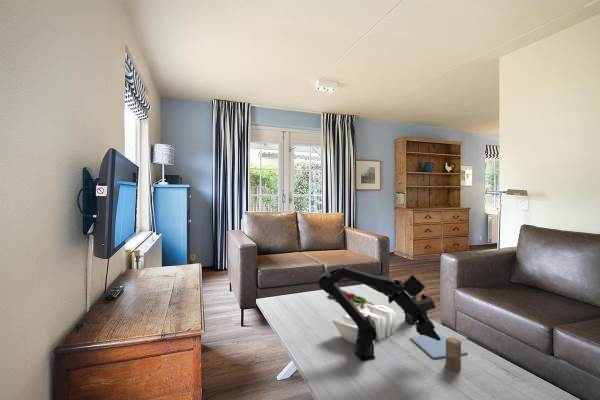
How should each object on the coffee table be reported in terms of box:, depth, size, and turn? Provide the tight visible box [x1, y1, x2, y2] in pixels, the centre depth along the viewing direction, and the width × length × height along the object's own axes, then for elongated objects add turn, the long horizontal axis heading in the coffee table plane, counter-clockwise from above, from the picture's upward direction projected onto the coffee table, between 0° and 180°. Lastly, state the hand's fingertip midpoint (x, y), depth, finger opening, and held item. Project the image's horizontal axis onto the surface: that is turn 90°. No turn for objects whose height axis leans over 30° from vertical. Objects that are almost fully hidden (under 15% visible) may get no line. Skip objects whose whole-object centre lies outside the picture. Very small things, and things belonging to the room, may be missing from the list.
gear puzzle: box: [326, 289, 375, 308], centre depth 174 cm, size 31×16×4 cm, turn 39°
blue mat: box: [410, 333, 469, 360], centre depth 122 cm, size 16×16×1 cm
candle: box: [404, 273, 418, 326], centre depth 145 cm, size 5×5×25 cm
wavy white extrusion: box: [331, 303, 398, 345], centre depth 134 cm, size 35×16×11 cm, turn 124°
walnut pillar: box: [445, 337, 462, 372], centre depth 108 cm, size 5×5×10 cm
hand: (436, 334), depth 109 cm, fingers open, 9 cm apart
